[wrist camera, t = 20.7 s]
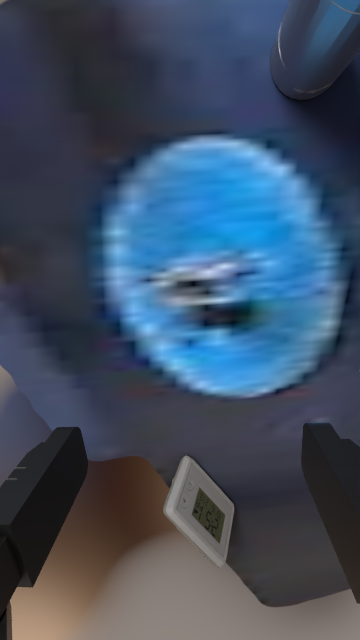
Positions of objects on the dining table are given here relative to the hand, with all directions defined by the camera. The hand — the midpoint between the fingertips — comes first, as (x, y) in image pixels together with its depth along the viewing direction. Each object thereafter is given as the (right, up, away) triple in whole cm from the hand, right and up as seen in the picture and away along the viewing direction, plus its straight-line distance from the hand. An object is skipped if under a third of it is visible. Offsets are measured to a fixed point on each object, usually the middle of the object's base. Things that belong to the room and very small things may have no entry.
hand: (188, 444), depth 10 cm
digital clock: (+4, -29, +45) cm, 54 cm away
